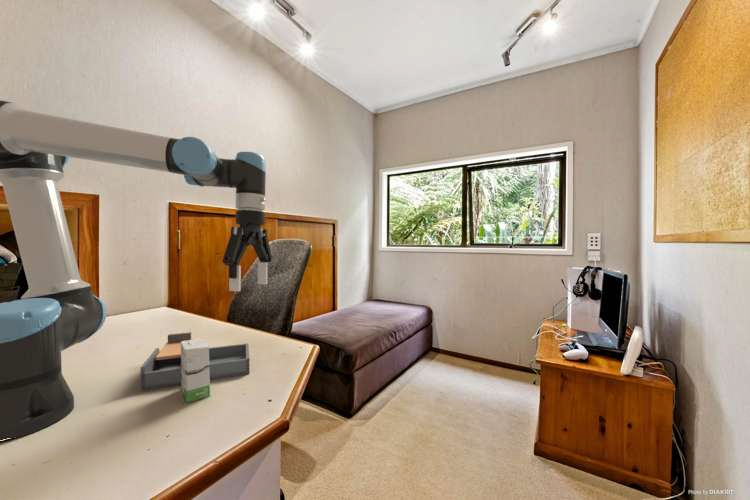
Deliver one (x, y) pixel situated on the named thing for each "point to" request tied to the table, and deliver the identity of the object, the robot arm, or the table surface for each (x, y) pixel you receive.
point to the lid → (173, 346)
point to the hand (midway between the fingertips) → (249, 287)
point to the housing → (220, 366)
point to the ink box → (195, 369)
